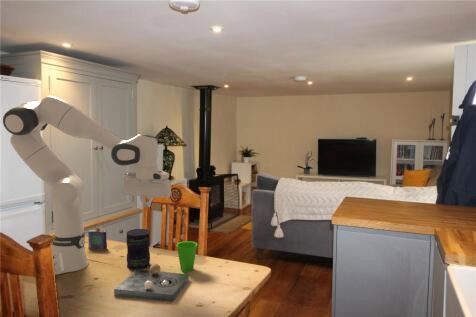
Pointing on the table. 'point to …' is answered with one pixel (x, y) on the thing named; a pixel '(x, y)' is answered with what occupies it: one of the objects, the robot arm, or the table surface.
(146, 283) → the plastic ball
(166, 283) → the steel ball
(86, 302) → the table surface
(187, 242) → the cup
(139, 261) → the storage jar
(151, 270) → the wood ball
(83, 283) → the table surface
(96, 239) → the flask
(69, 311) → the table surface
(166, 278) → the plate
